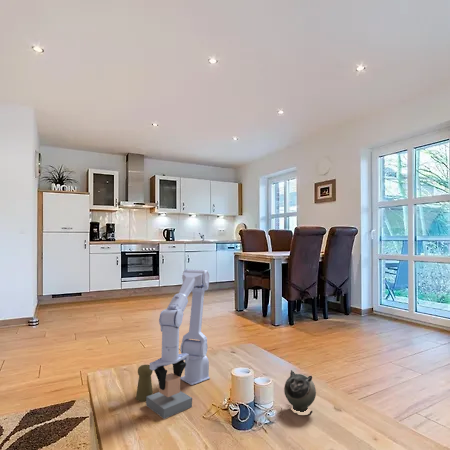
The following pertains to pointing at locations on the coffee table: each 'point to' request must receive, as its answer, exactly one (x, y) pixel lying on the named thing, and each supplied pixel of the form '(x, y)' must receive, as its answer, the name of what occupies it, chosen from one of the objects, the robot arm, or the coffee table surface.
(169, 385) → the tan cube
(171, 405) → the plate
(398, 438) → the coffee table surface
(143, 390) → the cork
